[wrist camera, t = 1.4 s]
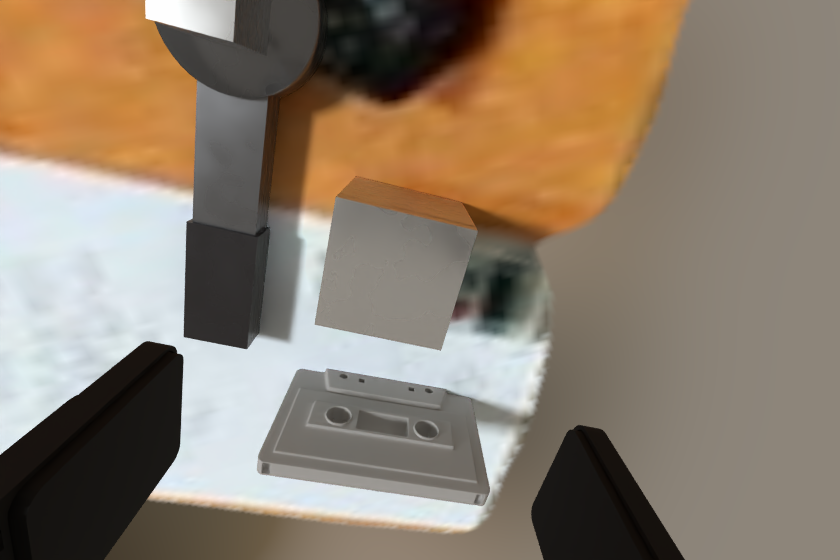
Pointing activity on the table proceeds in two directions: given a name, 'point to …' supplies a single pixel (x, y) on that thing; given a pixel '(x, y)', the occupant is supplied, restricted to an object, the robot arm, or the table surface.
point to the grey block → (394, 263)
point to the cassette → (377, 437)
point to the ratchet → (235, 144)
